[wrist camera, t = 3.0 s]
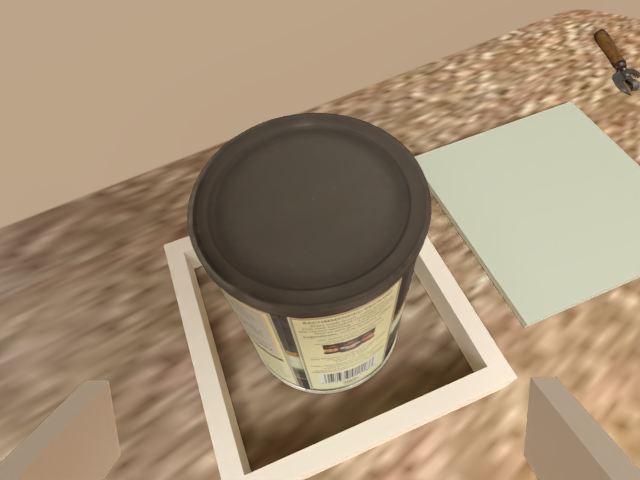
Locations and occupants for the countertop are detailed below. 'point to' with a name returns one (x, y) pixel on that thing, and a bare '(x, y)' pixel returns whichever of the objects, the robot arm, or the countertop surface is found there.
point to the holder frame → (292, 470)
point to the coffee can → (313, 242)
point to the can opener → (617, 62)
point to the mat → (543, 208)
